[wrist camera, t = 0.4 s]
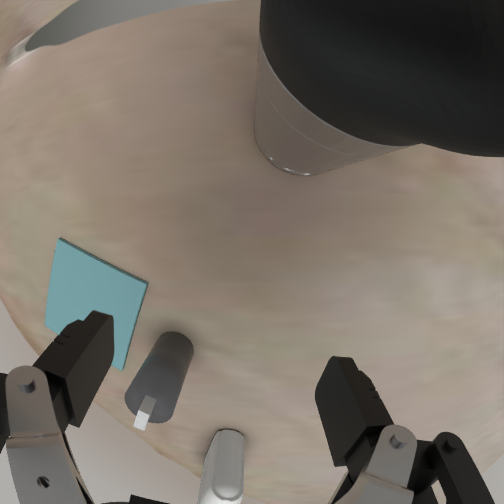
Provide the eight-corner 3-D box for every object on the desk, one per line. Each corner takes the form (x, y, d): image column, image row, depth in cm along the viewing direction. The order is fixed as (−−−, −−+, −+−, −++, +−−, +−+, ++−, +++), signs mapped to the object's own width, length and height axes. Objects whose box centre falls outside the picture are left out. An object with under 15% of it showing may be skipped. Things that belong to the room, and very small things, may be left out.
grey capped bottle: (162, 325, 29) (120, 392, 17) (198, 341, 30) (173, 415, 18) (152, 354, 30) (113, 424, 18) (186, 369, 30) (160, 445, 18)
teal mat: (60, 238, 27) (57, 238, 27) (148, 283, 28) (146, 284, 28) (47, 323, 29) (44, 325, 29) (123, 368, 30) (122, 370, 30)
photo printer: (228, 470, 34) (224, 535, 22) (201, 464, 34) (190, 529, 22) (248, 432, 32) (248, 507, 20) (216, 424, 32) (206, 500, 20)
